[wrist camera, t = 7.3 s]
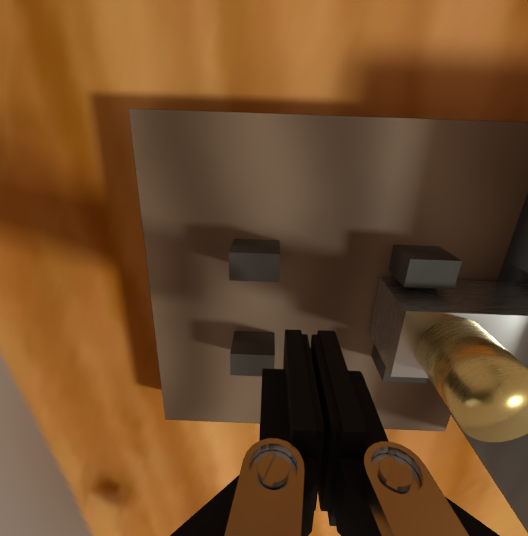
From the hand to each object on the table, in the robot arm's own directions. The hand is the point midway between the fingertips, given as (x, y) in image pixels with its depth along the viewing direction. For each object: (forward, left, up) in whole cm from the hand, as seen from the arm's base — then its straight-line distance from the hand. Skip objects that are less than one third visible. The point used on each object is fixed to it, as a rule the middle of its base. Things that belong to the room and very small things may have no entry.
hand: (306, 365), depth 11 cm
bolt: (0, +10, -4) cm, 11 cm away
